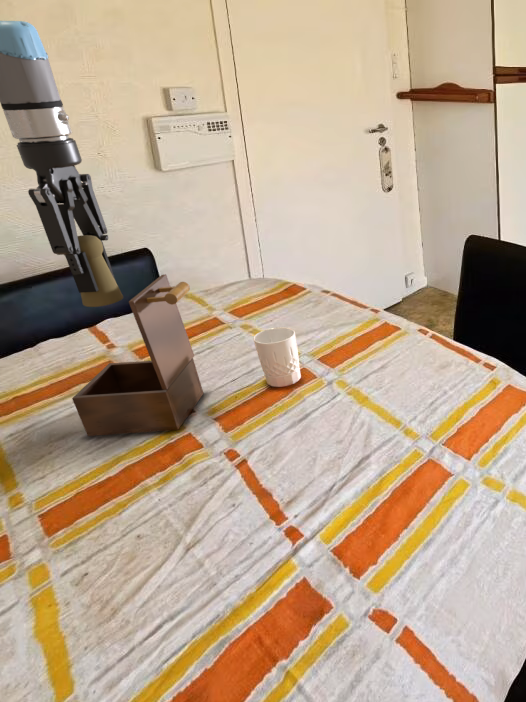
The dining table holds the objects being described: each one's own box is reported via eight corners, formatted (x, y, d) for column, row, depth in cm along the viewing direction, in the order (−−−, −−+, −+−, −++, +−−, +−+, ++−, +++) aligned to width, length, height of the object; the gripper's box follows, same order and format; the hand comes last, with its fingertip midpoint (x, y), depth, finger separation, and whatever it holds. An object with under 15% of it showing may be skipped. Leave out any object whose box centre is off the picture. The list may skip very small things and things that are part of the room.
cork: (125, 301, 106) (103, 237, 100) (83, 309, 103) (59, 244, 98) (121, 291, 110) (100, 229, 105) (81, 299, 107) (58, 236, 102)
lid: (128, 301, 100) (165, 298, 100) (161, 274, 112) (194, 271, 112) (162, 390, 108) (196, 386, 108) (190, 356, 120) (221, 353, 120)
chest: (87, 436, 111) (71, 398, 107) (122, 398, 123) (109, 363, 119) (178, 429, 112) (165, 392, 108) (203, 393, 124) (193, 358, 120)
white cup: (272, 370, 132) (262, 327, 127) (309, 370, 132) (300, 327, 127) (258, 388, 125) (246, 343, 120) (296, 388, 125) (286, 343, 120)
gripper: (36, 146, 86) (94, 303, 97) (100, 130, 102) (143, 267, 113) (-21, 148, 86) (44, 306, 97) (52, 132, 102) (100, 269, 113)
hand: (97, 285), depth 105 cm, fingers closed on cork, 5 cm apart
